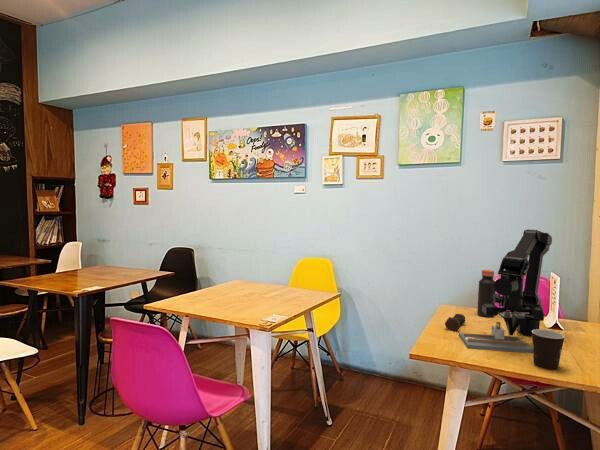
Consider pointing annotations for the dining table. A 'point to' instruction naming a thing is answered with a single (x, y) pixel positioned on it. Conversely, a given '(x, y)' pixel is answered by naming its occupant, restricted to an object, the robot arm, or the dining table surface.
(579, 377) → the dining table surface
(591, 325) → the dining table surface
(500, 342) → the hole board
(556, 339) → the coffee mug
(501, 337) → the sliding pin block
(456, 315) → the bolt
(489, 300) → the bottle
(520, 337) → the fixed brass pin
